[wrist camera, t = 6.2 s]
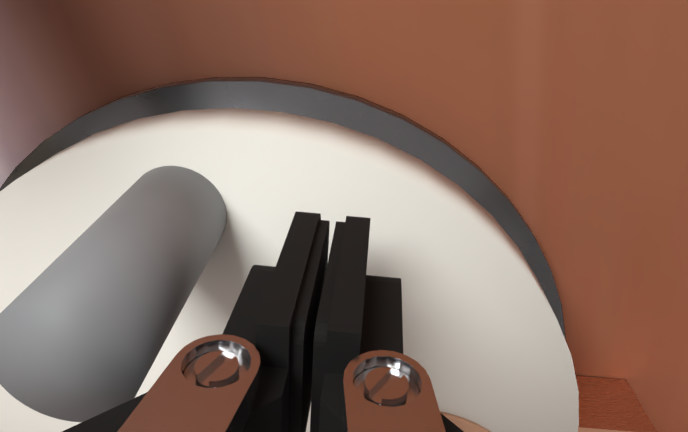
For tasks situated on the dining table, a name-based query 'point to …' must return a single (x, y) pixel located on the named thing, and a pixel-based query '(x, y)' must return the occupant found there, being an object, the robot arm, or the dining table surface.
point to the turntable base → (389, 126)
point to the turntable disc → (255, 249)
